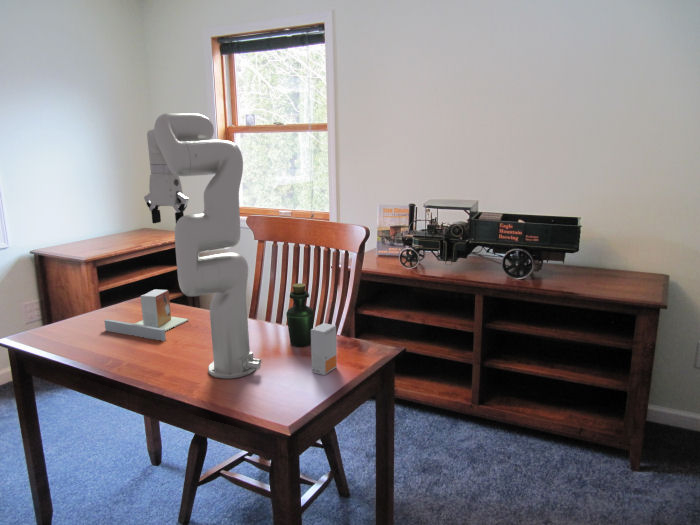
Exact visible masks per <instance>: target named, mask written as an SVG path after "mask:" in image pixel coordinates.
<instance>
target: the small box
mask: <svg viewBox="0 0 700 525" xmlns="http://www.w3.org/2000/svg"><path fill="white" fill-rule="evenodd" d="M170 302H171V301H170V290H168V289H157V288H156V289H153V290H150V291H148V292H147V293H145V294H142V295H140V306H141V314H142V320H143V325H144V326H150V327H160V326H161V325H163V324H165V323H166V322H168V321H170V320H171V316H172V313H171V312H172V311H171V303H170Z"/></svg>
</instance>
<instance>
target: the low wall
mask: <svg viewBox="0 0 700 525" xmlns="http://www.w3.org/2000/svg"><path fill="white" fill-rule="evenodd" d="M103 321H104V328H105V331H106V332H111V333H116V334H121V333H122V335H127V334H128V336H132V335H134V336H133V337H138V336H139V338H143V337H144V339H149V340H154V339H155V341H159V340H161V341H162V342H165V341H166V340H167V338H166V336H167V335H166V332H165V329H162V328H156V327H150V326H144V325H138V324H135V323H133V322H131V323H130V322H128V321H127V322H125V321H120V320H113V319H104V320H103ZM161 341H160V342H161Z"/></svg>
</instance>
